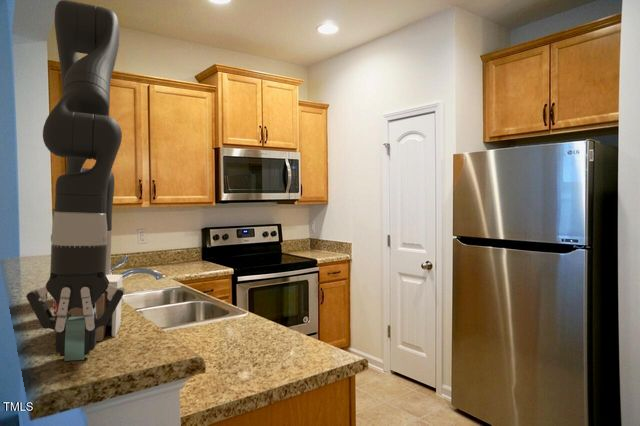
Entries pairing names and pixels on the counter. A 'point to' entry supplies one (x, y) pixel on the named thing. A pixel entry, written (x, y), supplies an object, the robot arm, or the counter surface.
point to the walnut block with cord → (82, 330)
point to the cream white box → (116, 316)
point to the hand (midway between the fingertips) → (75, 353)
